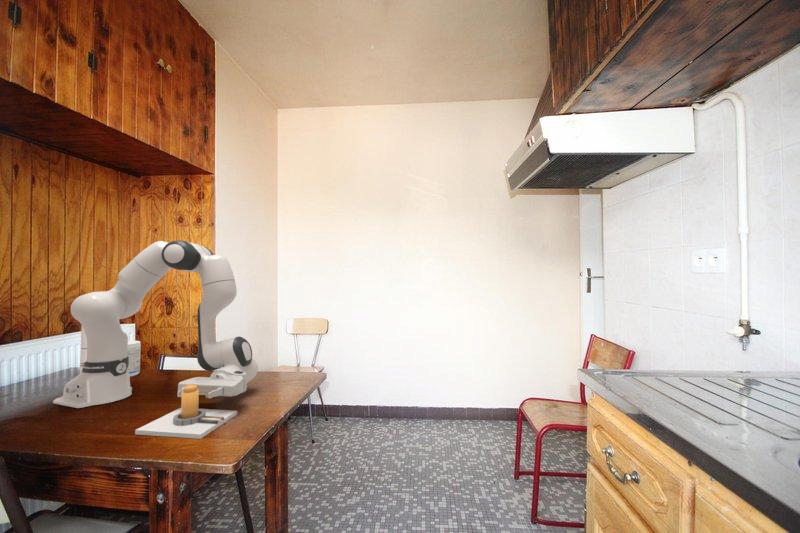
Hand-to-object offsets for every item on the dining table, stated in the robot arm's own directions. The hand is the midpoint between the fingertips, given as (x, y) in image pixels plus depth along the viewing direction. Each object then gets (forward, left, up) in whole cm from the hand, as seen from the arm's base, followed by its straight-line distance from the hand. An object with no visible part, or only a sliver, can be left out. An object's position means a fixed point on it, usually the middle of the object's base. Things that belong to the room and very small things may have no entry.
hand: (193, 395), depth 99 cm
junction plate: (0, -1, -8) cm, 8 cm away
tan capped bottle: (0, -1, -7) cm, 7 cm away
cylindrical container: (-82, +38, -8) cm, 91 cm away
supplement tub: (-66, +40, -8) cm, 77 cm away
